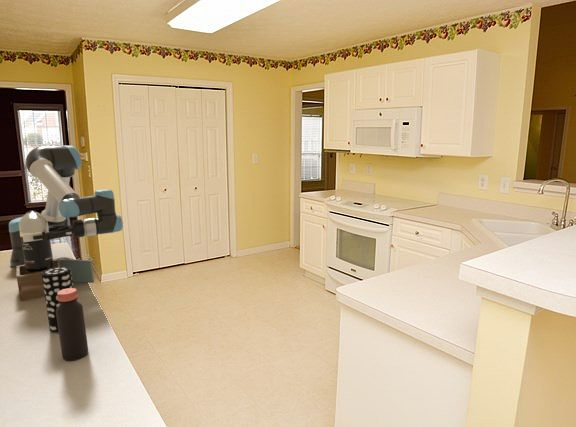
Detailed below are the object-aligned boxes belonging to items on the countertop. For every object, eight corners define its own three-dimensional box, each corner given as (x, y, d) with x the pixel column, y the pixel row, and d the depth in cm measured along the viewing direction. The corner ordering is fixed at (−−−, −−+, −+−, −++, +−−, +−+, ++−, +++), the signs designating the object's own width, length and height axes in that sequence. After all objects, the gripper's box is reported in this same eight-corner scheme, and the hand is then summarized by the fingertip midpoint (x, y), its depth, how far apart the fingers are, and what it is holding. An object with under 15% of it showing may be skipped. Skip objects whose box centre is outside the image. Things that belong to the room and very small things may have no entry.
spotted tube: (51, 324, 137) (43, 268, 133) (78, 319, 140) (71, 265, 136) (48, 335, 129) (39, 276, 125) (77, 329, 133) (69, 272, 129)
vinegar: (82, 346, 122) (74, 284, 118) (92, 353, 118) (84, 290, 114) (58, 356, 117) (49, 292, 113) (68, 364, 113) (59, 298, 109)
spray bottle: (41, 274, 160) (31, 213, 155) (19, 273, 162) (9, 212, 157) (60, 265, 169) (52, 208, 165) (39, 264, 172) (31, 207, 167)
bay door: (62, 281, 178) (59, 259, 176) (63, 280, 179) (60, 258, 177) (92, 282, 175) (90, 261, 173) (94, 282, 176) (91, 260, 174)
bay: (20, 288, 170) (16, 266, 168) (60, 280, 178) (57, 259, 176) (20, 301, 157) (16, 276, 155) (63, 292, 165) (60, 269, 163)
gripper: (88, 241, 164) (24, 251, 152) (81, 231, 182) (23, 239, 170) (86, 224, 162) (21, 232, 150) (79, 215, 181) (20, 222, 169)
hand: (22, 236), depth 160 cm, fingers closed on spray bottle, 10 cm apart
